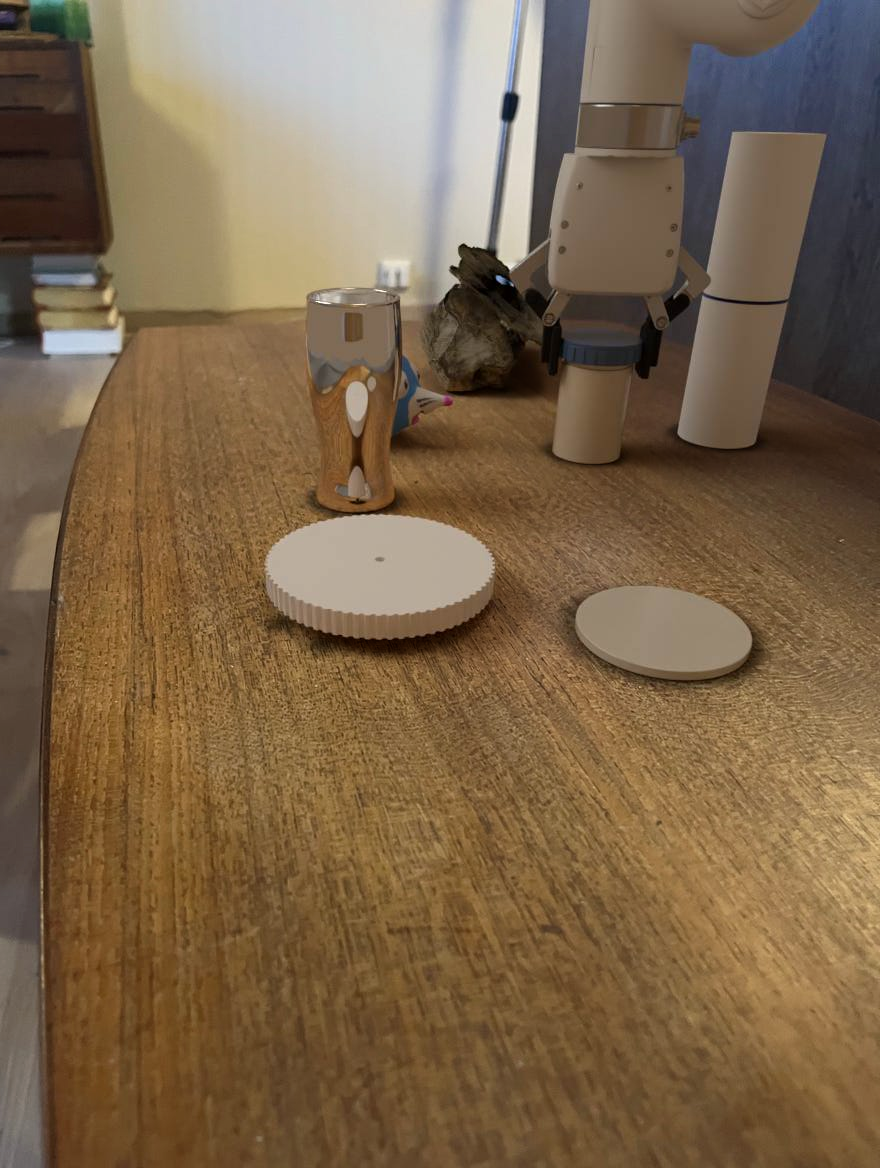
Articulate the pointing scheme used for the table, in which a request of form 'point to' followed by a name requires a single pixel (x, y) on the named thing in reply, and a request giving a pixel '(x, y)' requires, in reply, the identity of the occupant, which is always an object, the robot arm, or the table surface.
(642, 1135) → the table surface
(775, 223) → the cylindrical container
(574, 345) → the lid
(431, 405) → the blue toy animal
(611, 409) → the jar
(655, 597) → the coaster
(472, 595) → the plastic lid
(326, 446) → the beer glass
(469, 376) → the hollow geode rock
